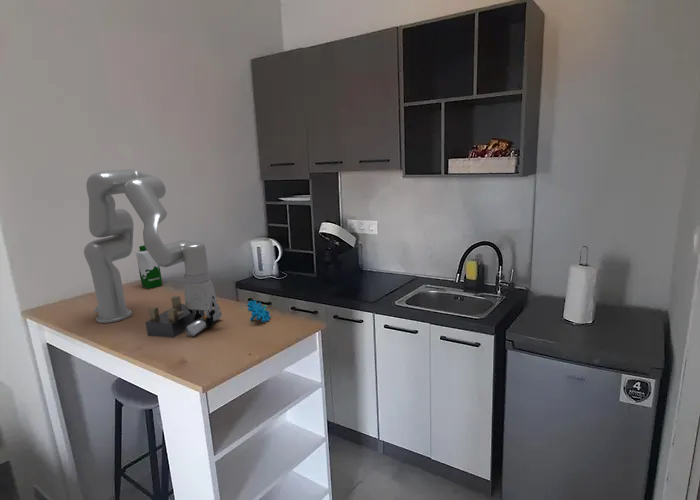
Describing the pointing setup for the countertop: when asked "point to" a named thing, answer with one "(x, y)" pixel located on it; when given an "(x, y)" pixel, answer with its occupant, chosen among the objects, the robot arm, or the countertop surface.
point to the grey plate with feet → (169, 320)
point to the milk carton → (148, 269)
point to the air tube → (200, 324)
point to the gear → (258, 311)
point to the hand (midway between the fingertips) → (204, 325)
